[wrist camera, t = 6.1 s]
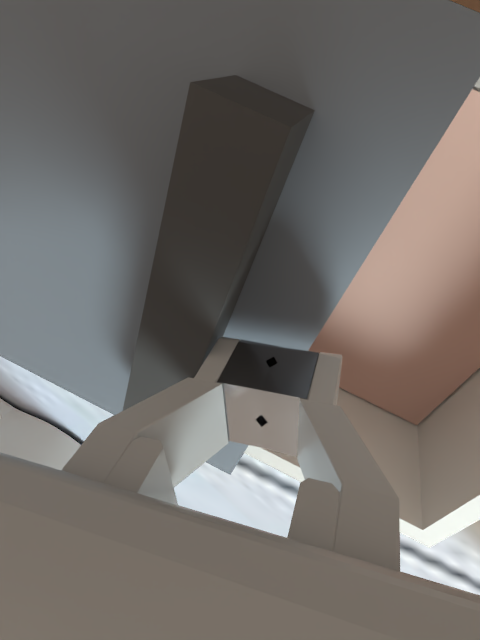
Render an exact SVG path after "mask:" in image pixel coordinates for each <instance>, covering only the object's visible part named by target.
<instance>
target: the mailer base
mask: <svg viewBox="0 0 480 640" xmlns="http://www.w3.org/2000/svg"><path fill="white" fill-rule="evenodd" d="M308 351H313V352H325V353H332V354H340V355H342V366H341V375H340V383H339V391H338V399H337V406H340V407H342V409H343V410H344V412H345V414H346V415H347V417H348V418H349V420H350V422H351V423H352V425H353V426H354V428H355V429H356V431H357V433H358V434H359V436H360V437H361V439H362V441H363V442H364V444H365V445H366V447H367V448H368V450H369V452H370V453H371V455H372V456H373V458H374V460H375V461H376V463H377V464H378V466H379V467H380V469H381V471H382V472H383V474H384V475H385V477H386V479H387V480H388V482H389V483H390V485H391V486H392V488H393V490H394V491H395V493H396V494H397V496H398V498H399V520H400V533H401V534H403V535H405V536H407V537H409V538H411V539H413V540H415V541H417V542H419V543H421V544H423V545H425V546H427V547H429V548H430V547H432V546H434V545H436V544H437V543H439V542H441V541H443V540H444V539H446V538H448V537H450V536H452V535H453V534H455V533H457V532H459V531H460V530H462V529H464V528H466V527H468V526H469V525H471V524H473V523H475V522H476V521H478V520H480V78H479V79H478V81H477V82H476V84H475V86H474V87H473V89H472V90H471V92H470V94H469V95H468V97H467V98H466V100H465V101H464V103H463V105H462V106H461V108H460V109H459V111H458V113H457V114H456V116H455V117H454V119H453V121H452V122H451V124H450V125H449V127H448V129H447V130H446V132H445V133H444V135H443V137H442V138H441V140H440V141H439V143H438V145H437V146H436V148H435V149H434V151H433V152H432V154H431V156H430V157H429V159H428V160H427V162H426V164H425V165H424V167H423V168H422V170H421V172H420V173H419V175H418V176H417V178H416V180H415V181H414V183H413V184H412V186H411V188H410V189H409V191H408V192H407V194H406V195H405V197H404V199H403V200H402V202H401V203H400V205H399V207H398V208H397V210H396V211H395V213H394V215H393V216H392V218H391V219H390V221H389V223H388V224H387V226H386V227H385V229H384V231H383V232H382V234H381V235H380V237H379V239H378V240H377V242H376V243H375V245H374V246H373V248H372V250H371V251H370V253H369V254H368V256H367V258H366V259H365V261H364V262H363V264H362V266H361V267H360V269H359V270H358V272H357V274H356V275H355V277H354V278H353V280H352V282H351V283H350V285H349V286H348V288H347V289H346V291H345V293H344V294H343V296H342V297H341V299H340V301H339V302H338V304H337V305H336V307H335V309H334V310H333V312H332V313H331V315H330V317H329V318H328V320H327V321H326V323H325V325H324V326H323V328H322V329H321V331H320V333H319V334H318V336H317V337H316V339H315V340H314V342H313V344H312V345H311V347H310V348H309V350H308ZM244 453H245V454H247V455H249V456H251V457H253V458H255V459H257V460H259V461H260V462H262V463H264V464H266V465H268V466H270V467H272V468H274V469H276V470H278V471H280V472H282V473H284V474H286V475H288V476H290V477H292V478H294V479H296V480H298V481H300V482H302V481H304V480H305V479H304V476H303V474H302V471H301V468H300V465H299V463H298V460H297V457H295V456H291V455H287V454H284V453H280V452H276V451H272V450H268V449H265V448H260V447H256V446H251V445H249V446H248V447H247V449H246V450H245V452H244Z"/></svg>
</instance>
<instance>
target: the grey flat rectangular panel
mask: <svg viewBox="0 0 480 640" xmlns="http://www.w3.org/2000/svg"><path fill="white" fill-rule="evenodd" d="M479 78H480V13H479V12H476V11H474V10H471V9H469V8H467V7H464V6H462V5H460V4H457V3H455V2H452V1H450V0H0V356H1V357H3V358H5V359H7V360H9V361H11V362H13V363H15V364H17V365H19V366H21V367H22V368H24V369H26V370H28V371H30V372H32V373H34V374H36V375H38V376H40V377H42V378H44V379H46V380H48V381H50V382H52V383H54V384H55V385H57V386H59V387H61V388H63V389H65V390H67V391H69V392H71V393H73V394H75V395H77V396H79V397H81V398H83V399H85V400H86V401H88V402H90V403H92V404H94V405H96V406H98V407H100V408H102V409H104V410H106V411H108V412H110V413H112V414H114V415H116V414H118V413H120V412H122V411H124V410H126V409H128V408H130V407H132V406H134V405H136V404H137V403H139V402H141V401H143V400H145V399H147V398H149V397H151V396H153V395H155V394H157V393H159V392H161V391H163V390H165V389H167V388H169V387H170V386H172V385H174V384H176V383H178V382H180V381H182V380H184V379H186V378H188V377H189V378H194V377H195V376H196V374H197V372H198V371H199V369H200V368H201V366H202V364H203V363H204V361H205V359H206V358H207V356H208V355H209V353H210V351H211V350H212V348H213V347H214V345H215V343H216V342H217V340H218V339H219V338H221V337H228V338H234V339H239V340H247V341H252V342H258V343H264V344H269V345H275V346H280V347H286V348H293V349H300V350H306V351H308V350H309V348H310V347H311V345H312V344H313V342H314V340H315V339H316V337H317V336H318V334H319V333H320V331H321V329H322V328H323V326H324V325H325V323H326V321H327V320H328V318H329V317H330V315H331V313H332V312H333V310H334V309H335V307H336V305H337V304H338V302H339V301H340V299H341V297H342V296H343V294H344V293H345V291H346V289H347V288H348V286H349V285H350V283H351V282H352V280H353V278H354V277H355V275H356V274H357V272H358V270H359V269H360V267H361V266H362V264H363V262H364V261H365V259H366V258H367V256H368V254H369V253H370V251H371V250H372V248H373V246H374V245H375V243H376V242H377V240H378V239H379V237H380V235H381V234H382V232H383V231H384V229H385V227H386V226H387V224H388V223H389V221H390V219H391V218H392V216H393V215H394V213H395V211H396V210H397V208H398V207H399V205H400V203H401V202H402V200H403V199H404V197H405V195H406V194H407V192H408V191H409V189H410V188H411V186H412V184H413V183H414V181H415V180H416V178H417V176H418V175H419V173H420V172H421V170H422V168H423V167H424V165H425V164H426V162H427V160H428V159H429V157H430V156H431V154H432V152H433V151H434V149H435V148H436V146H437V145H438V143H439V141H440V140H441V138H442V137H443V135H444V133H445V132H446V130H447V129H448V127H449V125H450V124H451V122H452V121H453V119H454V117H455V116H456V114H457V113H458V111H459V109H460V108H461V106H462V105H463V103H464V101H465V100H466V98H467V97H468V95H469V94H470V92H471V90H472V89H473V87H474V86H475V84H476V82H477V81H478V79H479ZM248 446H249V445H246V444H241V443H236V442H231V441H228V444H227V445H225V446H224V447H223V448H222V449H221V450H219V451H218V452H217V453H216V454H214V455H213V456H212V457H211V458H210V459H208V460H207V461H206V462H207V463H209V464H211V465H212V466H214V467H216V468H218V469H220V470H222V471H224V472H226V473H228V474H231V473H232V471H233V470H234V468H235V466H236V465H237V463H238V462H239V460H240V458H241V457H242V455H243V454H244V452H245V450H246V449H247V447H248Z"/></svg>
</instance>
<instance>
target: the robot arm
mask: <svg viewBox="0 0 480 640" xmlns="http://www.w3.org/2000/svg"><path fill="white" fill-rule="evenodd" d="M341 366H342V355H340V354H332V353H325V352H313V351H306V350H300V349H293V348H286V347H280V346H275V345H269V344H264V343H258V342H252V341H247V340H239V339H234V338H228V337H221V338H219V339H218V340H217V342H216V343H215V345H214V347H213V348H212V350H211V351H210V353H209V355H208V356H207V358H206V359H205V361H204V363H203V364H202V366H201V368H200V369H199V371H198V372H197V374H196V376H195V377H194V378H189V377H188V378H186V379H184V380H182V381H180V382H178V383H176V384H174V385H172V386H170V387H169V388H167V389H165V390H163V391H161V392H159V393H157V394H155V395H153V396H151V397H149V398H147V399H145V400H143V401H141V402H139V403H137V404H136V405H134V406H132V407H130V408H128V409H126V410H124V411H122V412H120V413H118V414H116V415H114V416H112V417H110V418H108V419H106V420H104V421H103V422H101V423H99V424H98V425H97V426H96V427H95V429H94V430H93V431H92V432H91V434H90V435H89V436H88V437H87V439H86V440H85V441H84V442H83V444H82V445H80V444H79V443H78V442H77V441H75V440H74V439H73V438H71V437H70V436H68V435H67V434H65V433H64V432H62V431H61V430H59V429H58V428H56V427H54V426H52V425H51V424H49V423H47V422H45V421H43V420H41V419H38V418H36V417H34V416H31V415H29V414H27V413H24V412H22V411H20V410H18V409H16V408H14V407H12V406H11V405H9V404H8V403H6V402H5V401H3V400H2V399H0V640H480V595H477V594H473V593H470V592H467V591H463V590H460V589H457V588H453V587H450V586H447V585H443V584H440V583H436V582H433V581H430V580H426V579H423V578H420V577H416V576H413V575H410V574H406V573H403V572H400V520H399V498H398V496H397V494H396V493H395V491H394V490H393V488H392V486H391V485H390V483H389V482H388V480H387V479H386V477H385V475H384V474H383V472H382V471H381V469H380V467H379V466H378V464H377V463H376V461H375V460H374V458H373V456H372V455H371V453H370V452H369V450H368V448H367V447H366V445H365V444H364V442H363V441H362V439H361V437H360V436H359V434H358V433H357V431H356V429H355V428H354V426H353V425H352V423H351V422H350V420H349V418H348V417H347V415H346V414H345V412H344V410H343V409H342V407H340V406H337V399H338V391H339V383H340V375H341ZM228 441H231V442H236V443H241V444H246V445H251V446H256V447H260V448H265V449H268V450H272V451H276V452H280V453H284V454H287V455H291V456H295V457H297V460H298V463H299V465H300V468H301V471H302V474H303V476H304V479H305V480H304V481H302V482H301V483H300V487H299V491H298V495H297V500H296V504H295V508H294V512H293V516H292V520H291V525H290V529H289V533H288V537H287V538H286V537H282V536H279V535H276V534H272V533H269V532H266V531H262V530H259V529H256V528H252V527H249V526H245V525H242V524H239V523H235V522H232V521H229V520H225V519H222V518H219V517H215V516H212V515H209V514H205V513H202V512H199V511H195V510H192V509H189V508H185V507H182V506H179V505H178V504H177V500H176V496H175V492H174V487H175V486H177V485H178V484H179V483H180V482H182V481H183V480H184V479H185V478H186V477H188V476H189V475H190V474H191V473H193V472H194V471H195V470H196V469H197V468H199V467H200V466H201V465H202V464H204V463H205V462H206V461H207V460H208V459H210V458H211V457H212V456H213V455H214V454H216V453H217V452H218V451H219V450H221V449H222V448H223V447H224V446H225V445H227V444H228Z"/></svg>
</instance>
